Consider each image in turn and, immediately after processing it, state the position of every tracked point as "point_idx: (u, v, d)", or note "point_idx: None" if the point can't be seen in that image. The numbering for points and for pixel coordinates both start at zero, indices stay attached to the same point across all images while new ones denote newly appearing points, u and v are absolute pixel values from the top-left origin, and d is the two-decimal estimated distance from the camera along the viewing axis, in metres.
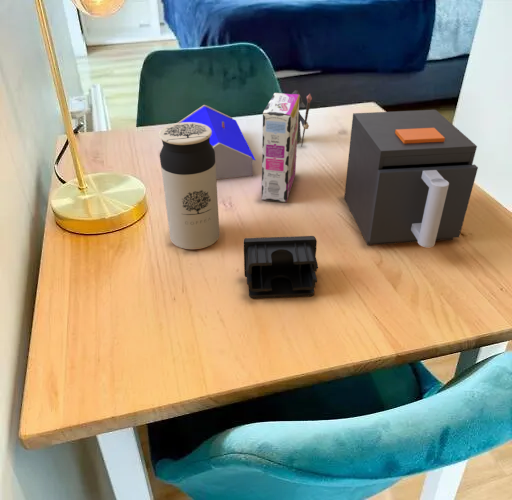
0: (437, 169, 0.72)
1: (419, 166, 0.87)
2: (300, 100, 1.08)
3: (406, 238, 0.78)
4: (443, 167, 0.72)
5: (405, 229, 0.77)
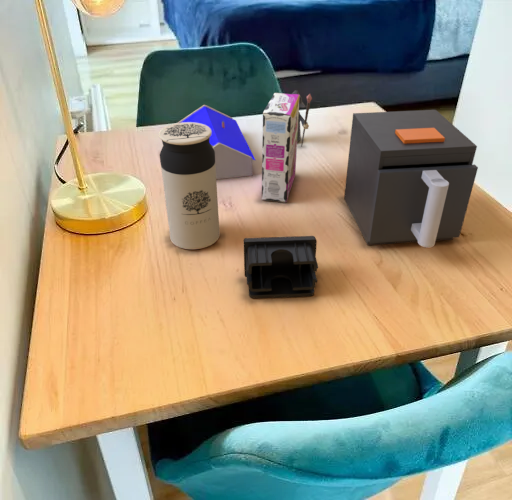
0: (437, 169, 0.72)
1: (419, 166, 0.87)
2: (300, 100, 1.08)
3: (406, 238, 0.78)
4: (443, 167, 0.72)
5: (405, 229, 0.77)
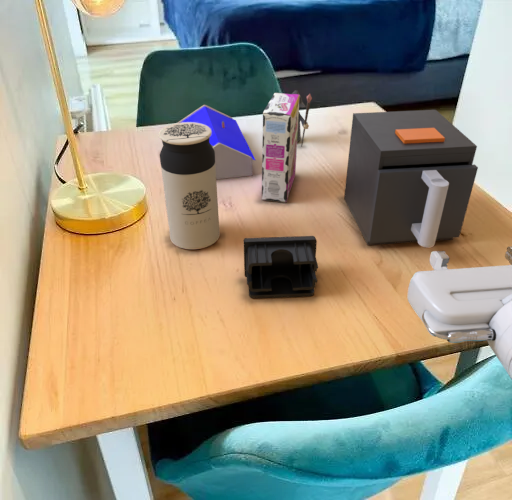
0: (437, 169, 0.72)
1: (419, 166, 0.87)
2: (300, 100, 1.08)
3: (406, 238, 0.78)
4: (443, 167, 0.72)
5: (405, 229, 0.77)
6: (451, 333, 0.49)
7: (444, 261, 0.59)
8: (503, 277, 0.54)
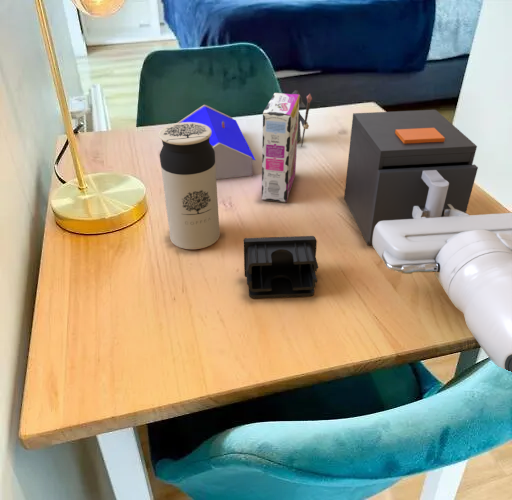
0: (437, 169, 0.72)
1: (419, 166, 0.87)
2: (300, 100, 1.08)
3: None
4: (443, 167, 0.72)
5: None
6: (404, 266, 0.60)
7: (424, 213, 0.70)
8: (450, 225, 0.65)
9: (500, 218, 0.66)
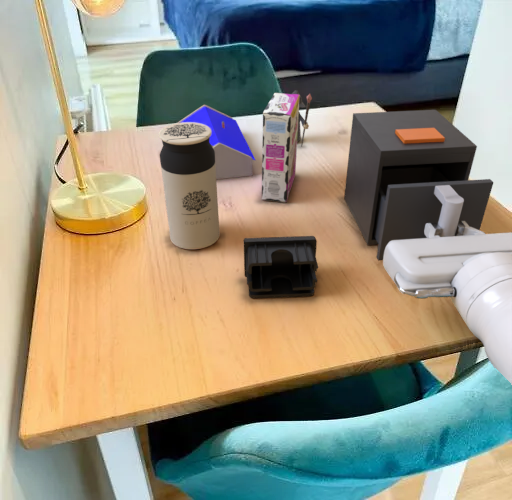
0: (451, 184, 0.68)
1: (429, 178, 0.84)
2: (300, 100, 1.08)
3: None
4: (457, 181, 0.69)
5: None
6: (418, 290, 0.57)
7: (437, 231, 0.66)
8: (465, 245, 0.61)
9: None
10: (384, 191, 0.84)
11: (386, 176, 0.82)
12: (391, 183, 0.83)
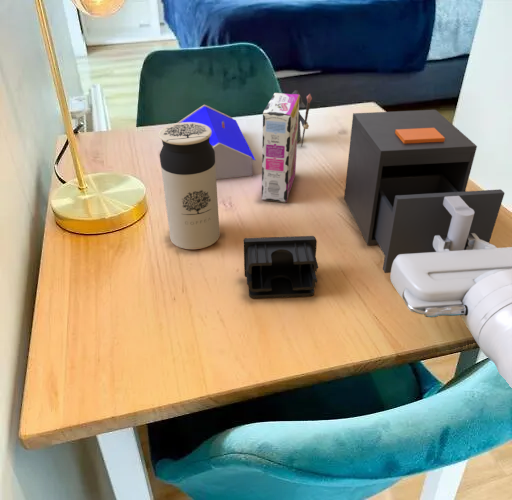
0: (460, 195, 0.66)
1: (436, 187, 0.81)
2: (300, 100, 1.08)
3: None
4: (466, 192, 0.66)
5: None
6: (427, 308, 0.54)
7: (446, 244, 0.64)
8: (477, 260, 0.59)
9: None
10: (390, 200, 0.82)
11: (392, 185, 0.80)
12: (397, 192, 0.81)
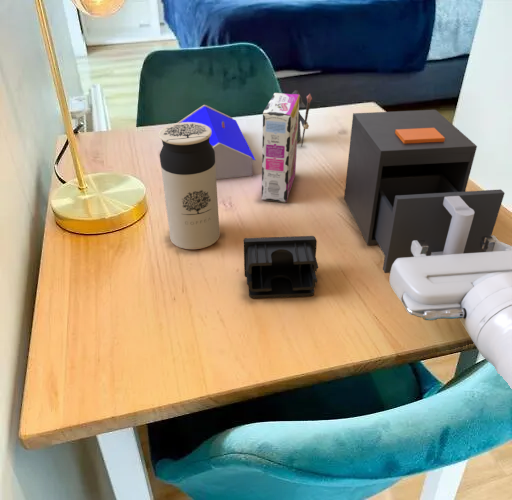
0: (460, 195, 0.66)
1: (436, 187, 0.81)
2: (300, 100, 1.08)
3: None
4: (466, 192, 0.66)
5: None
6: (426, 311, 0.55)
7: (423, 249, 0.64)
8: (475, 263, 0.59)
9: None
10: (390, 200, 0.82)
11: (392, 185, 0.80)
12: (397, 192, 0.81)
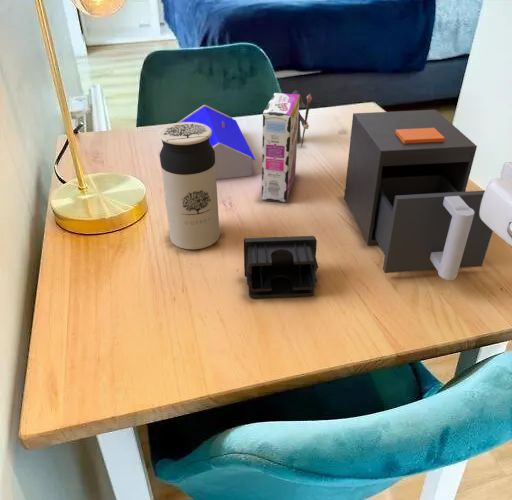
0: (460, 195, 0.66)
1: (436, 187, 0.81)
2: (300, 100, 1.08)
3: (424, 268, 0.72)
4: (466, 192, 0.66)
5: (424, 258, 0.71)
6: None
7: None
8: None
9: None
10: (390, 200, 0.82)
11: (392, 185, 0.80)
12: (397, 192, 0.81)
